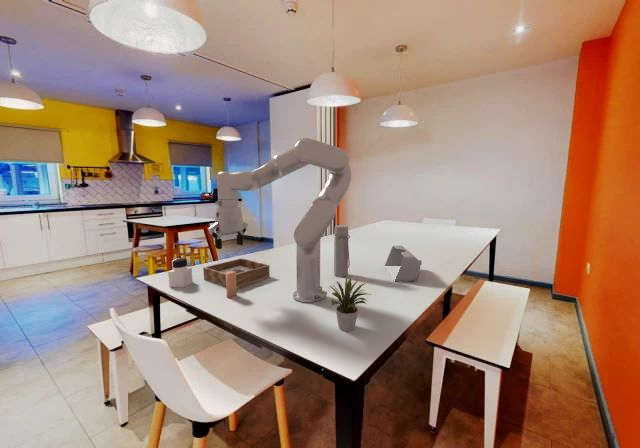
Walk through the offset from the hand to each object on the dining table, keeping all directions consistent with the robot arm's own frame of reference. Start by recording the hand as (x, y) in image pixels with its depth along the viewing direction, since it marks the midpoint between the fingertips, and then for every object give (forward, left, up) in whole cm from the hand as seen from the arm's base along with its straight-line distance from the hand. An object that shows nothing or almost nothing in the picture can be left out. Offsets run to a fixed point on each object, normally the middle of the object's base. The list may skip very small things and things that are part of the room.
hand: (229, 246), depth 113 cm
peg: (0, 0, -21) cm, 21 cm away
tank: (-45, -72, -21) cm, 87 cm away
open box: (+17, -15, -21) cm, 30 cm away
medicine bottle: (+30, +6, -21) cm, 37 cm away
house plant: (-51, -6, -21) cm, 56 cm away
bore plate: (+17, -15, -21) cm, 30 cm away
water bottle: (-21, -50, -21) cm, 58 cm away
